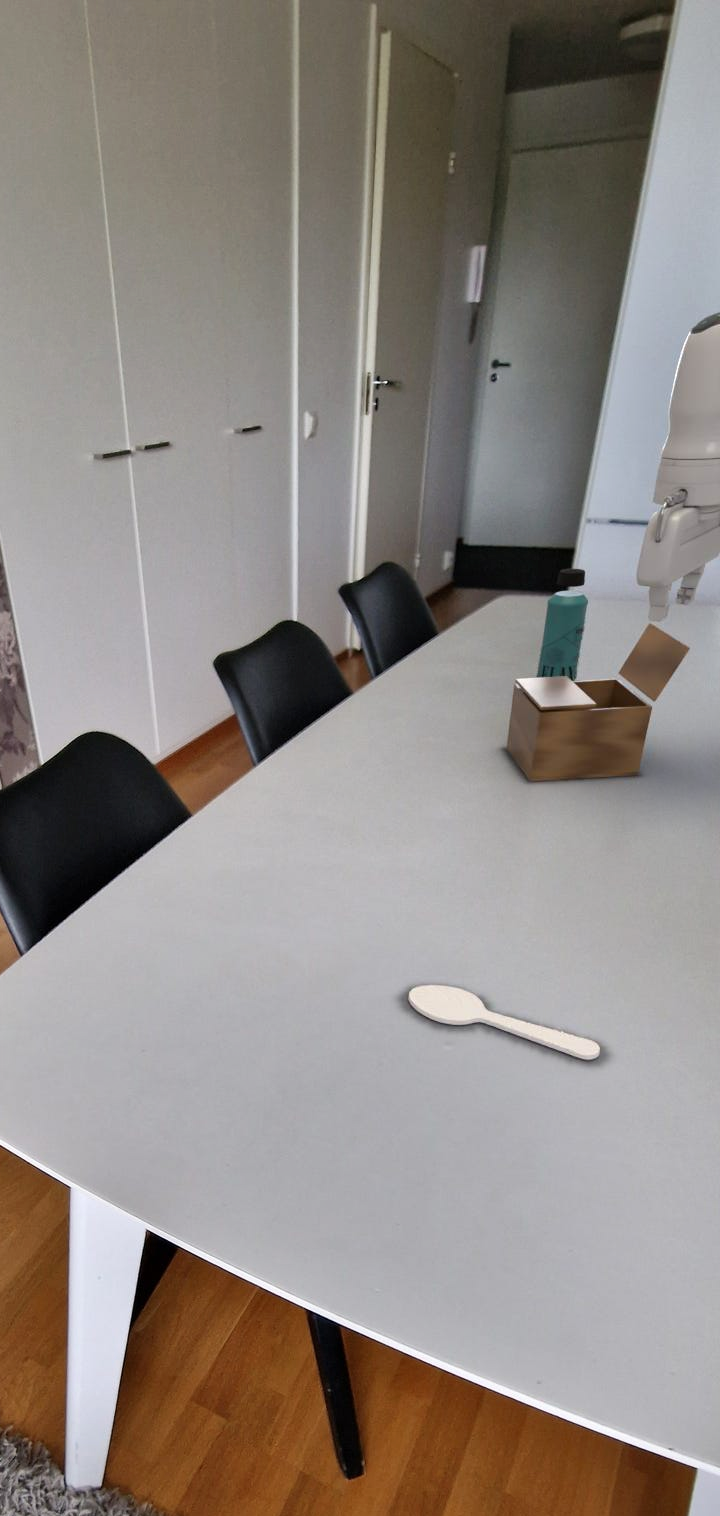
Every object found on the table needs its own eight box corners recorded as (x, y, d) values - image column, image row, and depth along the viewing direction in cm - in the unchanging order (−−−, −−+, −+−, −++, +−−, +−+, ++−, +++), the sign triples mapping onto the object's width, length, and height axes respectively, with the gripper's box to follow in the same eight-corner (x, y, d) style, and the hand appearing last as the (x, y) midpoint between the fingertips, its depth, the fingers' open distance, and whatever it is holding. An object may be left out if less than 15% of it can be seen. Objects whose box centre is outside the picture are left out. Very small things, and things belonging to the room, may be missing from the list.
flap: (618, 673, 133) (620, 674, 133) (652, 700, 122) (655, 701, 122) (649, 622, 129) (651, 623, 129) (688, 647, 118) (690, 648, 118)
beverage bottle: (530, 703, 155) (548, 573, 143) (535, 691, 160) (553, 565, 148) (571, 706, 153) (592, 574, 141) (575, 694, 158) (596, 565, 146)
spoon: (588, 1072, 78) (589, 1067, 77) (397, 1007, 87) (397, 1003, 86) (608, 1039, 81) (609, 1034, 81) (423, 980, 90) (423, 976, 90)
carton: (605, 743, 139) (619, 672, 133) (637, 775, 128) (653, 700, 122) (506, 748, 139) (514, 678, 133) (530, 781, 128) (540, 707, 122)
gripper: (693, 498, 99) (666, 633, 107) (751, 473, 111) (723, 596, 120) (634, 497, 103) (613, 628, 111) (697, 472, 115) (673, 592, 123)
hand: (671, 611), depth 115 cm, fingers open, 8 cm apart
